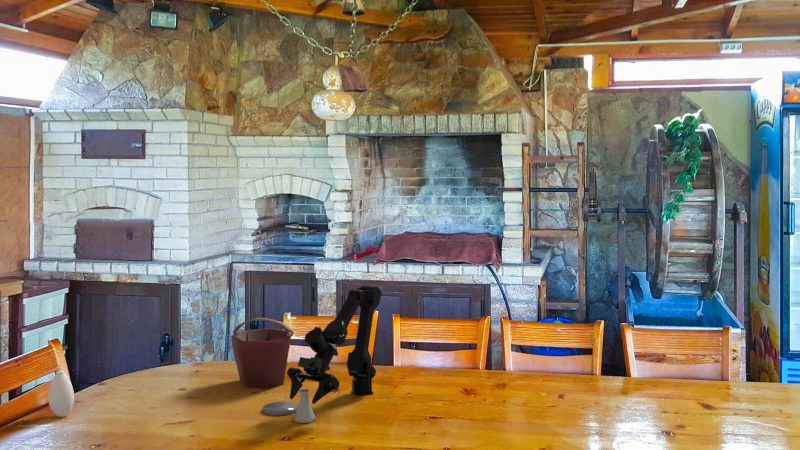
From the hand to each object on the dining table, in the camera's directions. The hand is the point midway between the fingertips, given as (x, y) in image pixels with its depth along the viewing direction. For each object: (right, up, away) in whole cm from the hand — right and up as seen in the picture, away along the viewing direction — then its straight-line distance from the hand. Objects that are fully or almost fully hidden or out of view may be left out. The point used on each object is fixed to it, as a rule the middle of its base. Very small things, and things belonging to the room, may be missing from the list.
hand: (301, 400), depth 245 cm
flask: (+1, -7, +2) cm, 7 cm away
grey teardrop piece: (-81, -7, +7) cm, 82 cm away
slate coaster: (-9, -6, +12) cm, 16 cm away
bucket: (-21, -3, +44) cm, 48 cm away
